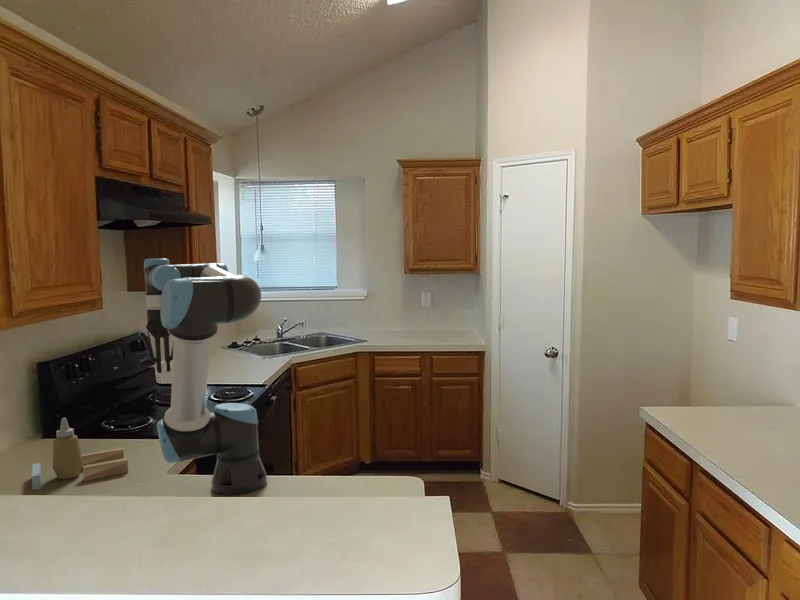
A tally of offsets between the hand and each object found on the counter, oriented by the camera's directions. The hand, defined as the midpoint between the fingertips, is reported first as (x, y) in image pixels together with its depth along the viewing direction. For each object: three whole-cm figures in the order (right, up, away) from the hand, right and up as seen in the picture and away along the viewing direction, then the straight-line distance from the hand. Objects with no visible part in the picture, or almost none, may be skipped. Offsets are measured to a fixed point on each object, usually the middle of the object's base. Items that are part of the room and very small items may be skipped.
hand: (164, 382), depth 183 cm
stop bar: (-34, -28, -10) cm, 45 cm away
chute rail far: (-21, -27, +4) cm, 35 cm away
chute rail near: (-15, -27, -6) cm, 32 cm away
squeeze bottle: (-27, -28, -6) cm, 39 cm away
